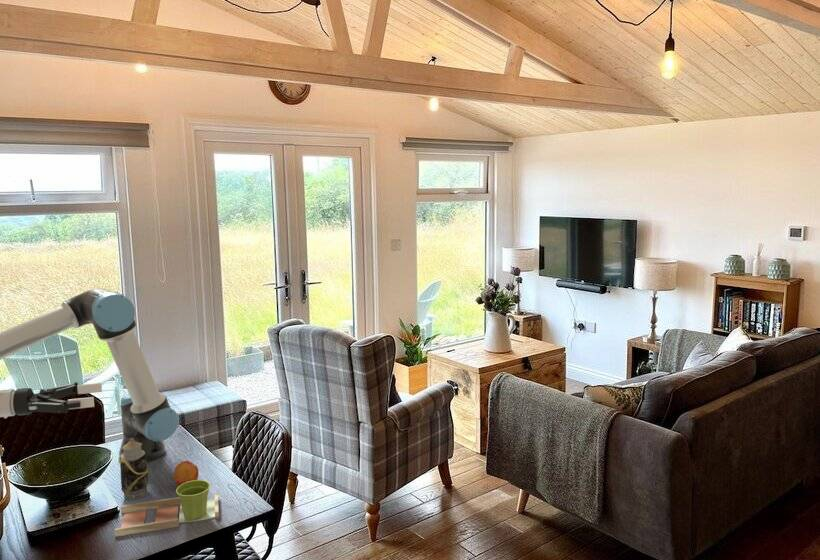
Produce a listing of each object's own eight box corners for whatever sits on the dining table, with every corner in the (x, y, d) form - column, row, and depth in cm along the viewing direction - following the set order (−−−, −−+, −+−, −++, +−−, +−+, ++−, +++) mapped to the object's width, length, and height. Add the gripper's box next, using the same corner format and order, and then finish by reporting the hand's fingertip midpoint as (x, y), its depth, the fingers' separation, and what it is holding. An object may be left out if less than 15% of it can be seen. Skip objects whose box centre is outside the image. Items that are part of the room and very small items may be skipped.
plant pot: (200, 525, 176) (198, 497, 175) (171, 521, 179) (169, 493, 177) (218, 509, 185) (216, 481, 184) (190, 505, 188) (188, 478, 186)
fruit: (205, 482, 203) (203, 459, 201) (186, 494, 195) (185, 470, 194) (186, 478, 206) (185, 455, 205) (168, 489, 199) (166, 465, 198)
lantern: (133, 487, 200) (127, 412, 196) (155, 489, 199) (150, 414, 195) (115, 500, 192) (109, 423, 188) (139, 502, 190) (133, 424, 186)
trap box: (121, 511, 185) (121, 505, 185) (218, 497, 193) (217, 491, 193) (115, 536, 172) (114, 530, 171) (218, 520, 180) (218, 513, 180)
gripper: (28, 400, 190) (105, 393, 196) (3, 431, 166) (91, 421, 173) (26, 377, 189) (103, 370, 195) (0, 404, 165) (89, 395, 171)
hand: (97, 394), depth 184 cm, fingers open, 13 cm apart
